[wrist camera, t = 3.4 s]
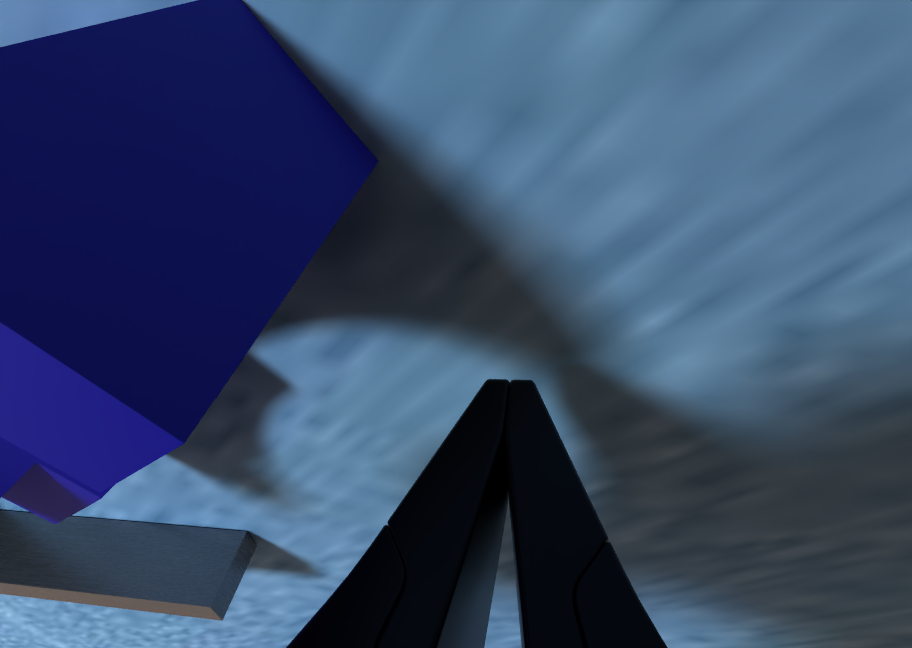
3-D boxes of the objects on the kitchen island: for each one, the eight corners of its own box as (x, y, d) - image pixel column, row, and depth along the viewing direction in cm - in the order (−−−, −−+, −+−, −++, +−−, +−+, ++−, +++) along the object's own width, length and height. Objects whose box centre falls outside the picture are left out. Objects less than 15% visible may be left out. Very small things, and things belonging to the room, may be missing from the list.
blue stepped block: (131, 430, 15) (-56, 661, 10) (-24, 330, 13) (-339, 559, 8) (437, 223, 9) (325, 535, 5) (239, -9, 7) (-307, 119, 3)
